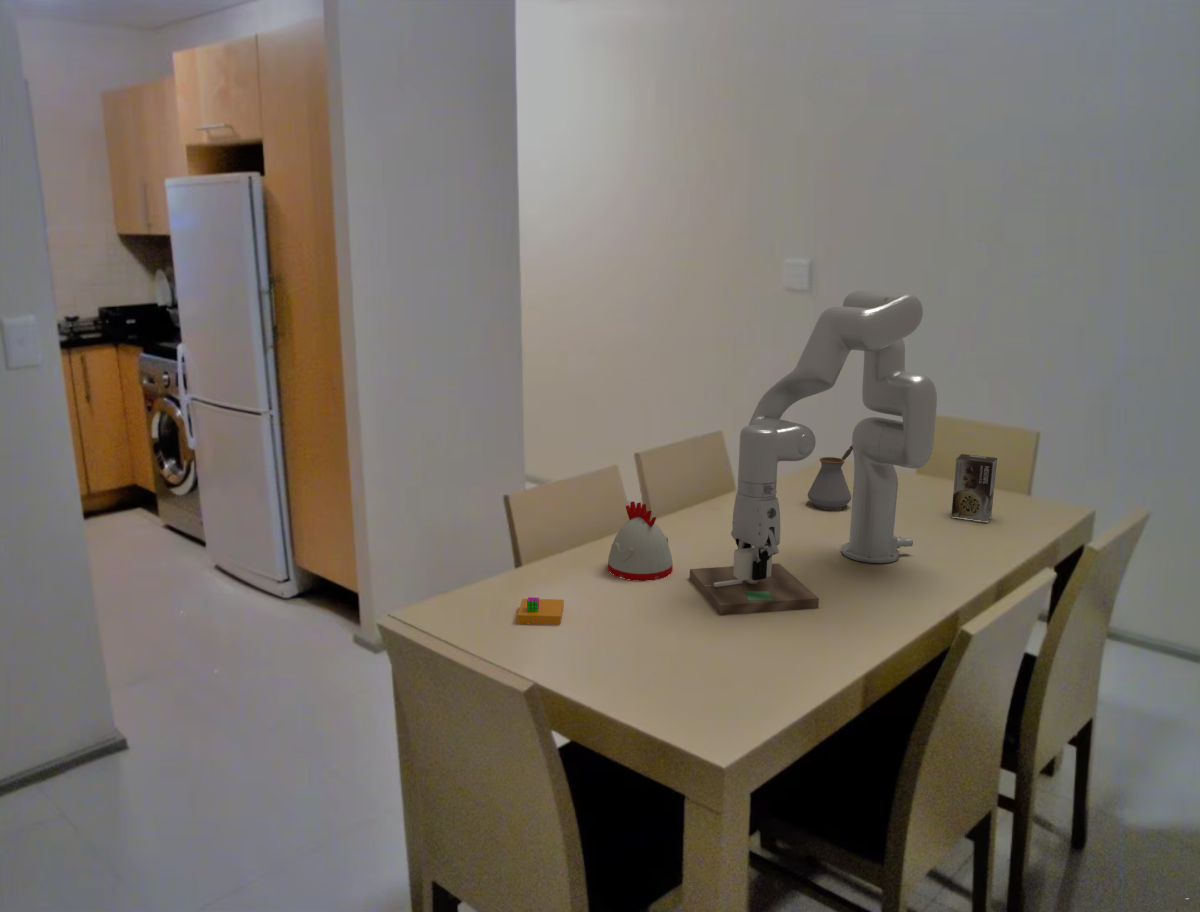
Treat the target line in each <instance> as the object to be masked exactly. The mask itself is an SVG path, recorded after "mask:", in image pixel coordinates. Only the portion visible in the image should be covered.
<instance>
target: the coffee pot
mask: <svg viewBox="0 0 1200 912" xmlns="http://www.w3.org/2000/svg"><path fill="white" fill-rule="evenodd" d="M852 452H853V446H852V445H850V446H849V448H848V449H847V450H845V453H844V454H843V455H842V457H841V458H840V457H833V456H826V457H825V456H824V457H820V458H819V462H820V464H821V467H820V469H819V471H818V473H817V474H816V477H815V479H814V480H813V482H812V484H811V486H810V488H809V490H808V491H807V498H808V500H809V501H810V502H811V503H812V504H813V506H815V507H816V508H819V509H822V510H830V511H836V510H837V509H838V510H842V509H843V508H844V507H845V506H847V505H848V504H849V503H850V501H852V494H851V492H850V489H849V486H848V484H847V481H846V478H845V475H844V471H843V469H842V466H843V465H844V464H845V460H846V459H847V458H848V457H849V456H850V455H851V453H852ZM841 508H842V509H841Z"/></svg>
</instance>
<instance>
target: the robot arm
mask: <svg viewBox="0 0 1200 912" xmlns="http://www.w3.org/2000/svg"><path fill="white" fill-rule="evenodd" d="M923 310H924V309H923V304H922V302H921V301H920V299H919V298H918V297H917V296H915V295H914V294H911V293H907V292H896V291H895V292H893V291H884V290H883V291H881V290H858V291H857V290H856V291H853V292H851V293H848V294H847V295H846V296H845V297H844V300H843V303H842V306H833V307H832V306H831V307H829V308H827V309H825V310H824V311H823V312H822V313H821V314H820V315H819V317H818V319H817V321H816V322H815V326H814V327H813V329H812V332H811V333H810V335H809V339H808V341H807V343H806V345H805V346H804V349H803V350H802V353H801V355H800V357H799V359H798V362H797V364H796V366H795V367H794V369H793V370H792V371H790V372H789V373H788V374H786V375H785V376H783V377H782V378H781V379H780V380H778V381H777V382H776V383H775V384H773V385H772V386H771V387H770V388H769V389H768V390H766V392H765V393H764V394H763V396H762V397H761V398H760V399H759V402H758V403H757V404H756V407H755V410H754V411H753V413H752V415H751V418H750V420H749V422H748V425H747V426H746V425H745V427H743V428H742V429H741V430H740V433H739V451H738V473H737V475H738V477H737V492H736V495H735V498H734V499H735V500H734V506H733V512H732V523H731V524H732V525H731V526H732V530H731V532H730V535H731V537H732V538H733V540H734V541H735V544H736V546H737V549H745V548H753V547H755V561H753V570H752V579H753V580H754V581H756V580H761V579H765V578H766V575H767V561H768V560H769V559H770V557H771V556H772V557H773V556H774V555H776V554H779V552H780V551H779V548H778V546H779V545H780V543H781V510H780V509H781V508H780V503H779V498H778V497H776V496H777V492H778V491H777V481H778V480H777V478H778V464H779V463H780V462H799V461H803V460H805V459H806V458H808V457H810V455H811V454H812V453H813V452H814V450H815V447H816V442H817V441H816V436H815V434H814V432H813V431H812V429H811V428H809V427H808V426H806V425H805V424H802V423H798V422H793V421H789V420H785V419H781V418H782V416H783V415H784V414H785V412H786V411H787V410H788V408H790V407H791V406H793V405H794V404H795V403H797V402H799V401H800V400H803V399H805V398H808V397H812V396H814V395H818V394H821V393H823V392H826V391H828V390H831V389H832V388H833V387H834V386H835V385H836V382H837V380H838V378H839V377H840V374H841V371H842V370H843V367H844V365H845V363H846V361H847V358H848V357H849V354H850V352H851V351H860V352H863V371H862V373H863V374H862V386H861V387H862V389H861V395H862V403H863V405H864V407H865V408H866V409H868V410H870V411H872V412H876V413H879V414H885V415H892V416H898V417H902V421H901V420H895V419H891V418H885V417H876V416H872V417H871V416H869V417H866V418H864V419H861V420H860V421H858V423H857V424H856V425H855V426H854V428H853V431H852V437H851V443H852V444H851V446H853V450H852V452H853V463H854V469H853V471H854V472H853V473H854V474H853V486H852V497H851V511H850V512H851V514H850V524H849V525H850V526H849V527H850V528H849V541H848V542H846V543H845V544H842V546H841V553H842V555H844V556H845V557H847V558H848V559H851V560H853V561H858V562H861V563H868V564H869V563H870V564H887V563H892V562H895V561H897V560H898V559H899V558H900V551H899V550H898V549H900V548H901V547H907V548H908V547H913V545H914V541H913V538H912V537H908V538H907V537H905V538H902V536H900V535H899V536H898V535H894V534H895V523H896V519H895V518H896V509H897V499H898V498H897V497H898V489H899V481H898V480H899V479H898V474H897V472H896V468H895V466H898V467H902V468H907V469H913V470H914V469H920V468H922V467H924V466H925V465H926V464H927V463H928V462H929V460H930V458H931V455H932V453H933V449H934V448H933V447H934V439H935V431H936V430H935V429H936V419H937V418H936V415H937V406H938V404H937V403H938V394H937V388H936V386H935V383H934V382H933V381H932V379H931V378H930V377H928V376H926V375H924V374H921V373H915V372H908V371H907V370H906V364H905V362H906V346H905V342H904V338H906V337H908V336H909V335H911V334H913V333H914V332H915V331H916V330H917V328H918V327H919V326H920V324H921V322H922V319H923V315H924V311H923ZM761 549H764V551H763V552H762V553H761Z"/></svg>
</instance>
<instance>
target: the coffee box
mask: <svg viewBox="0 0 1200 912" xmlns="http://www.w3.org/2000/svg"><path fill="white" fill-rule="evenodd" d="M997 462H998V458H997V457H990V456H986V455H984V456H983V455H975V454H974V455H973V454H965V453H961V454H960V455H959V456H957V458H956V459H955V467H954V468H955V470H954V482H953V483H954V484H953V493H952V505H951V515H950V517H951V516H952V517H959V518H967V519H973V520H981V521H988V520H989V519H990V517H991V518H992V516H993V515H992V512H993V503H994V492H995V485H996V484H995V483H996V473H997V472H996V471H997ZM990 520H991V519H990ZM990 520H989V521H990Z"/></svg>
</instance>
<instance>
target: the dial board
mask: <svg viewBox="0 0 1200 912" xmlns="http://www.w3.org/2000/svg"><path fill="white" fill-rule="evenodd" d="M733 570H734V565H732V566H717V567H715V566H714V567H703V568H702V567H701V568H689V579H690V581H691V582H693V583H692V584H694V586H696V587H697V589H698V591H700V593H701V594H702V595H703V596H704V597H705V599H706V600H708V603H710V605H712V607H713V608H714V609H715V610H716V612H717V613H718V614H719V615H720V616H725V615H737V614H738V615H741V614H742V615H743V614H749V613H750V614H753V613H767V612H779V611H790V610H791V611H792V610H794V611H795V610H808V609H819V603H820V597H818V596H817V595H816V594H815V593H814V592H813V591H811V590H810V589H809V588H808V587H807V586H806V585H804V584H803V583H802V582H801V580H799V579H798V578H797V577H796V576H794V575H793V574H792V573H791V572H790V571H789V570H788V569H786V568H785V567H784V566H783V565H782V564H781V563H772V569H771V576H770V577H766V578H765V579H761V580H758V583H756V584H750V583H747V582H746V580H742V583H740V584H733V585H726V586H719V587H715V586H714V583H715V582H723V581H730V580H737V578H736V577H734V576H733Z"/></svg>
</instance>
